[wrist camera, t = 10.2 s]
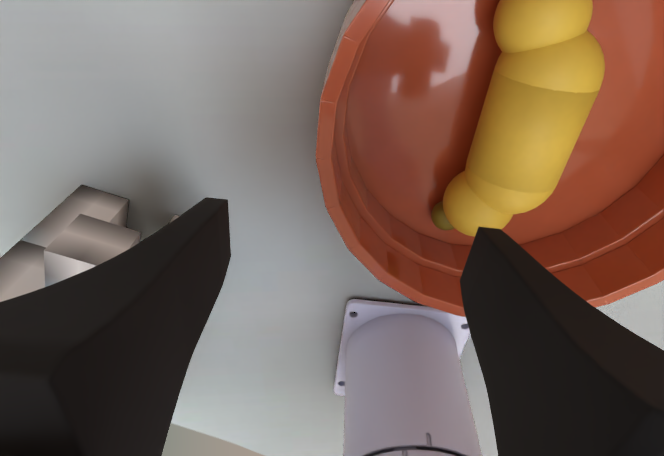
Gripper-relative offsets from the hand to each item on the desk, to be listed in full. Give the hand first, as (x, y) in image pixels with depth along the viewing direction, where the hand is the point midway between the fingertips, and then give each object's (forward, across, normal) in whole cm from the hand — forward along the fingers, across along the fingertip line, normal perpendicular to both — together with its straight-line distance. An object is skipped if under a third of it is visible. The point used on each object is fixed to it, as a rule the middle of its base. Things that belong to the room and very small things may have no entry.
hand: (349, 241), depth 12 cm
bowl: (+9, -7, -2) cm, 12 cm away
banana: (+9, -7, -2) cm, 11 cm away
